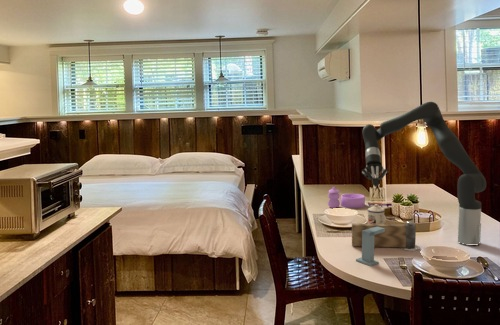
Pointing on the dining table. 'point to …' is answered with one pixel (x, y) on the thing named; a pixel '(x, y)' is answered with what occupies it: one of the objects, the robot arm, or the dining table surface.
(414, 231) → the link
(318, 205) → the dining table surface
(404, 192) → the dining table surface
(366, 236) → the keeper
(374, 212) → the teacup with lid
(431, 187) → the dining table surface
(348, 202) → the container set
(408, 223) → the post
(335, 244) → the dining table surface
